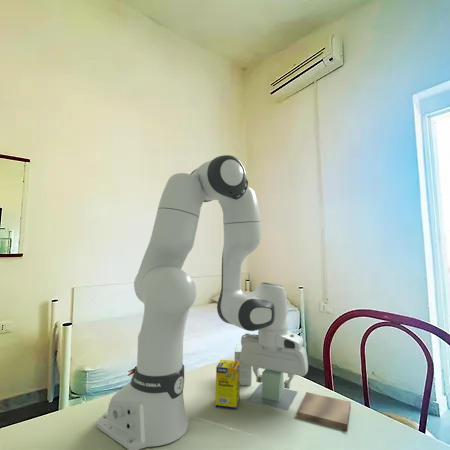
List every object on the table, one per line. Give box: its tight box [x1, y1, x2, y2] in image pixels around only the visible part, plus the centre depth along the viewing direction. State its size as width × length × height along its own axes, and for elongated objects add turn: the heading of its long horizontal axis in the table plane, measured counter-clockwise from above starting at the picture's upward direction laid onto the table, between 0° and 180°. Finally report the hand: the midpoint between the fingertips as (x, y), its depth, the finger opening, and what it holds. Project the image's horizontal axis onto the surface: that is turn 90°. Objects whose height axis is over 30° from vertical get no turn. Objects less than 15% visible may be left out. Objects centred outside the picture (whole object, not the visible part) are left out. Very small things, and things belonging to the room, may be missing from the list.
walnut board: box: [296, 392, 352, 431], centre depth 79 cm, size 12×12×2 cm
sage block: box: [261, 369, 285, 401], centre depth 88 cm, size 5×5×7 cm
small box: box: [234, 343, 253, 386], centre depth 99 cm, size 8×6×10 cm
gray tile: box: [246, 383, 299, 411], centre depth 88 cm, size 12×12×1 cm
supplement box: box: [215, 359, 241, 411], centre depth 84 cm, size 6×6×11 cm
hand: (273, 384), depth 88 cm, fingers open, 7 cm apart
